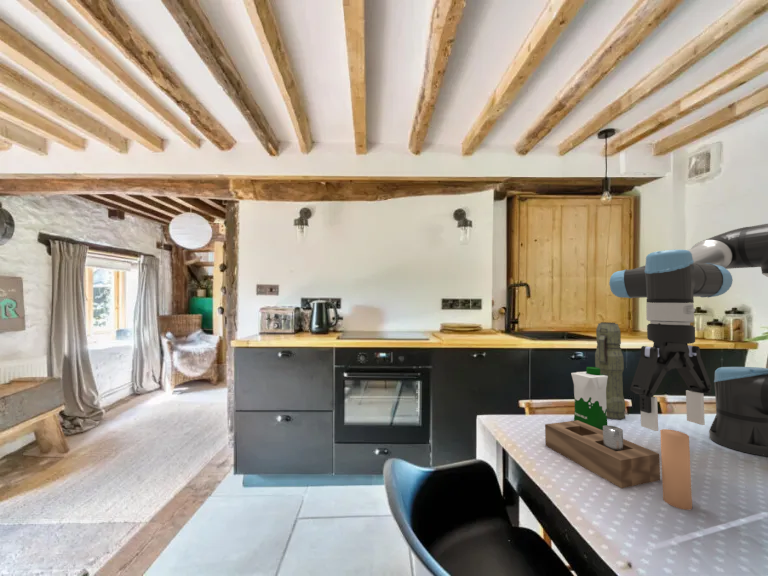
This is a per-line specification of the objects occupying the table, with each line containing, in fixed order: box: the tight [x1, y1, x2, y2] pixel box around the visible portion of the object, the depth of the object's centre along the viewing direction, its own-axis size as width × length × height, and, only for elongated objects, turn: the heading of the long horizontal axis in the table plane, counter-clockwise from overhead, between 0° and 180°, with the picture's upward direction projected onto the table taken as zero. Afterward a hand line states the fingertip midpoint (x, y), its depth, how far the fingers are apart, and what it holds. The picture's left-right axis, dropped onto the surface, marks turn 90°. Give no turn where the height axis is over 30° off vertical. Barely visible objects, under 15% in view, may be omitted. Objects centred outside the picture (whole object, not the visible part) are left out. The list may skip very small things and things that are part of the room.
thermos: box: [594, 321, 626, 421], centre depth 120 cm, size 9×12×35 cm
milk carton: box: [570, 366, 608, 430], centre depth 108 cm, size 9×9×20 cm
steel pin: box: [603, 425, 624, 451], centre depth 78 cm, size 4×4×10 cm
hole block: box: [544, 420, 661, 489], centre depth 82 cm, size 12×22×7 cm, turn 16°
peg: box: [659, 428, 693, 511], centre depth 65 cm, size 4×4×15 cm
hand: (673, 425), depth 66 cm, fingers open, 13 cm apart
